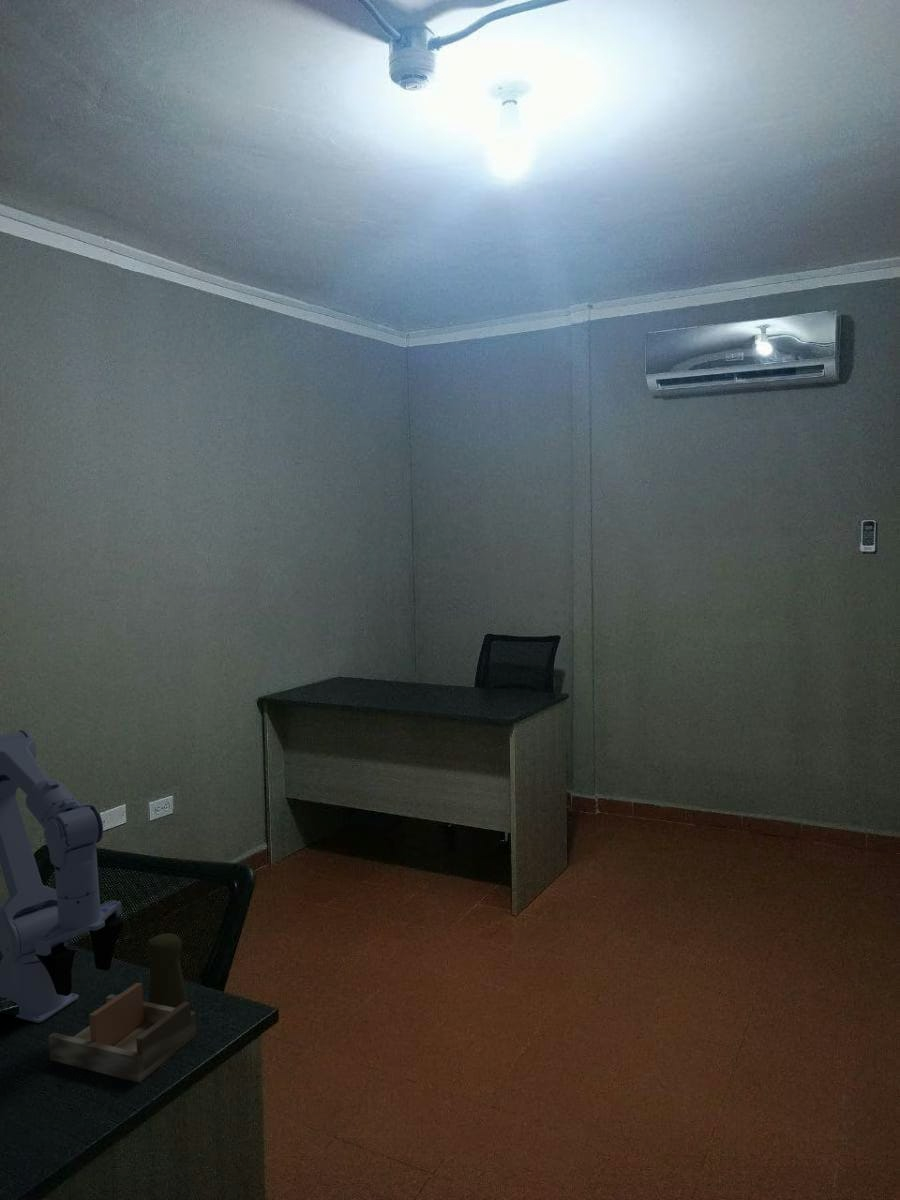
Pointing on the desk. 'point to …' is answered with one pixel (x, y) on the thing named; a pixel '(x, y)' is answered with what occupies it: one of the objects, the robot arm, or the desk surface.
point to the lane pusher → (118, 1016)
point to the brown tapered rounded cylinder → (165, 971)
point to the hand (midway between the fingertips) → (84, 981)
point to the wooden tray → (130, 1043)
